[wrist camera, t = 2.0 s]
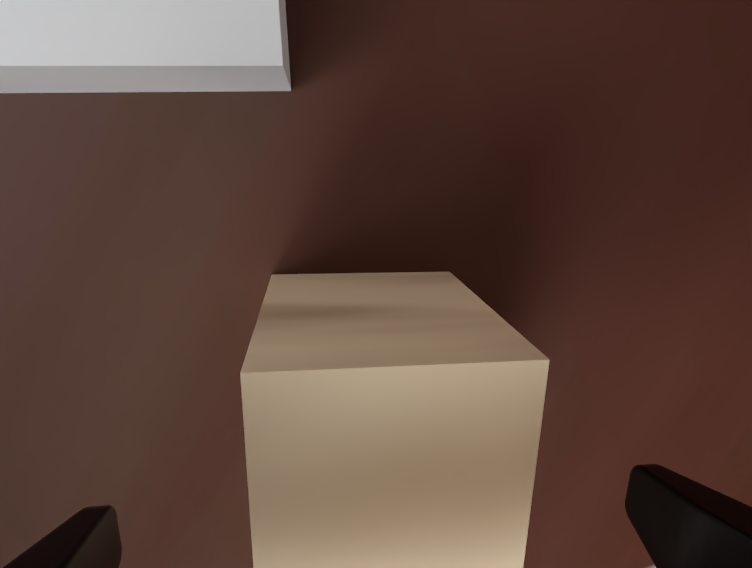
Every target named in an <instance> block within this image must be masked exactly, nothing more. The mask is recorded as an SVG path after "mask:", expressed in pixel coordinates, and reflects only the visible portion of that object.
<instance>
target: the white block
mask: <svg viewBox="0 0 752 568" xmlns="http://www.w3.org/2000/svg"><path fill="white" fill-rule="evenodd" d="M220 91H291V79H290V64H289V49H288V34H287V19H286V4H285V0H0V93H86V92H220Z"/></svg>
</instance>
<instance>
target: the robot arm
mask: <svg viewBox="0 0 752 568" xmlns="http://www.w3.org/2000/svg"><path fill="white" fill-rule="evenodd" d="M625 508H626V512H627V515H628V517H629V519H630V521H631V523H632V525H633V526H634V528H635V530H636V532H637V534H638V535H639V537H640V539H641V541H642V543H643V544H644V546H645V548H646V550H647V552H648V553H649V555H650V557H651V559H652V561H653V562H654V564H655V566H656V568H752V507H750V506H748V505H746V504H744V503H741V502H739V501H737V500H735V499H733V498H730V497H728V496H726V495H724V494H722V493H720V492H717V491H715V490H713V489H711V488H709V487H706V486H704V485H702V484H700V483H698V482H695V481H693V480H691V479H689V478H687V477H684V476H682V475H680V474H678V473H676V472H673V471H671V470H669V469H667V468H665V467H663V466H660V465H657V464H645V465H637V466H634V467H633V469H632V470H631V473H630V478H629V483H628V489H627V494H626V499H625ZM121 553H122V546H121V539H120V533H119V527H118V521H117V515H116V511H115V509H114V507H112V506H110V505H105V506H91V507H86V508H83V509H82V510H80V511H79V512H78V513H76V514H75V515H73V516H72V517H71V518H69V519H68V520H67V521H65V522H64V523H63V524H61V525H60V526H59V527H57V528H56V529H55V530H53V531H52V532H50V533H49V534H48V535H46V536H45V537H44V538H42V539H41V540H40V541H38V542H37V543H36V544H34V545H33V546H32V547H30V548H29V549H27V550H26V551H25V552H23V553H22V554H21V555H19V556H18V557H17V558H15V559H14V560H13V561H11V562H10V563H8V564H7V565H6V566H4V567H3V568H119V564H120V560H121Z"/></svg>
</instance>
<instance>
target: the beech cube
mask: <svg viewBox="0 0 752 568" xmlns="http://www.w3.org/2000/svg"><path fill="white" fill-rule="evenodd" d="M548 368H549V359H548V358H547V357H546V356H545V355H544V354H543V353H541V352H540V351H539V350H538V349H537V348H536V347H535V346H533V345H532V344H531V343H530V342H529V341H528V340H527V339H526V338H524V337H523V336H522V335H521V334H520V333H519V332H518V331H516V330H515V329H514V328H513V327H512V326H511V325H510V324H508V323H507V322H506V321H505V320H504V319H503V318H502V317H501V316H499V315H498V314H497V313H496V312H495V311H494V310H493V309H491V308H490V307H489V306H488V305H487V304H486V303H485V302H483V301H482V300H481V299H480V298H479V297H478V296H477V295H476V294H474V293H473V292H472V291H471V290H470V289H469V288H468V287H466V286H465V285H464V284H463V283H462V282H461V281H460V280H458V279H457V278H456V277H455V276H454V275H453V274H452V273H451V272H393V273H332V274H272V275H271V278H270V281H269V284H268V288H267V291H266V294H265V297H264V300H263V303H262V306H261V310H260V313H259V316H258V319H257V322H256V325H255V328H254V332H253V335H252V338H251V341H250V344H249V347H248V350H247V354H246V357H245V360H244V363H243V366H242V369H241V372H240V376H241V391H242V406H243V420H244V435H245V450H246V464H247V479H248V494H249V508H250V523H251V538H252V552H253V567H254V568H523V564H524V556H525V548H526V541H527V533H528V525H529V517H530V509H531V501H532V493H533V486H534V478H535V470H536V462H537V454H538V446H539V438H540V431H541V423H542V415H543V407H544V399H545V391H546V383H547V376H548Z"/></svg>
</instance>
